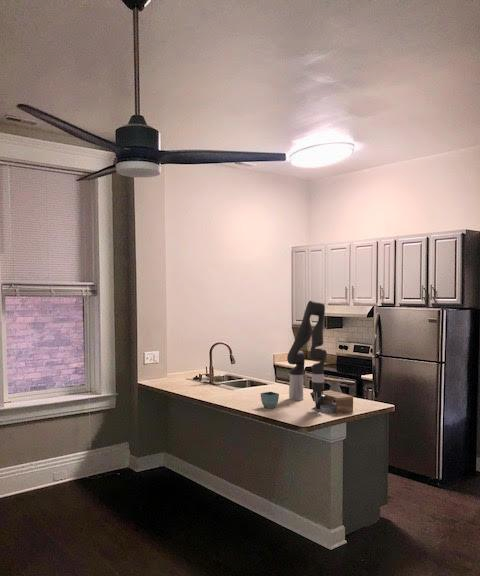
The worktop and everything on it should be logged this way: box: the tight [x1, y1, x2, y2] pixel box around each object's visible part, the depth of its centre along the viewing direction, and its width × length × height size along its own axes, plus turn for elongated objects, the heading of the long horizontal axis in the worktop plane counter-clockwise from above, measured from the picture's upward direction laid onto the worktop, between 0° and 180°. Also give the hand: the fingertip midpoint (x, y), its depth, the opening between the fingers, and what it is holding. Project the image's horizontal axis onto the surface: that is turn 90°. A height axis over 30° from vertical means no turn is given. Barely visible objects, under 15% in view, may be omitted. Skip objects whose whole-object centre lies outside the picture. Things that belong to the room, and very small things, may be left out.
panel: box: [314, 402, 336, 414], centre depth 312 cm, size 10×16×3 cm, turn 118°
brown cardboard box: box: [320, 389, 354, 415], centre depth 314 cm, size 22×12×10 cm, turn 28°
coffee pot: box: [324, 378, 343, 403], centre depth 344 cm, size 21×12×15 cm, turn 38°
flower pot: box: [259, 391, 280, 409], centre depth 318 cm, size 9×9×9 cm
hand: (317, 409), depth 308 cm, fingers closed
